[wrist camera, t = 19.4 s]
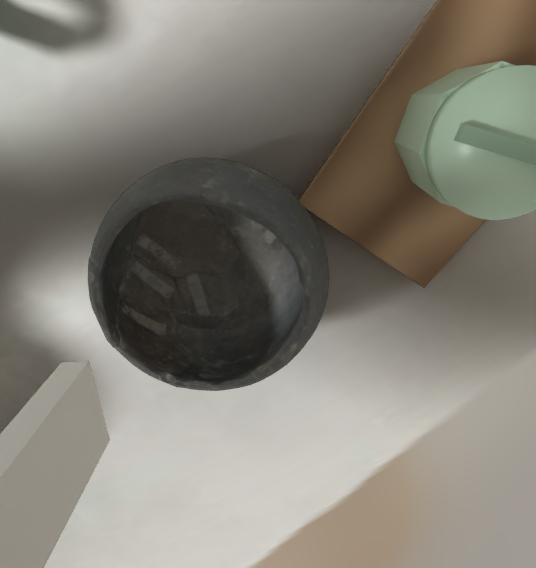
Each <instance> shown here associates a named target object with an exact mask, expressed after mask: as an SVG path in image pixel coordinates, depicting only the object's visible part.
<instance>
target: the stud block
mask: <svg viewBox="0 0 536 568" xmlns="http://www.w3.org/2000/svg"><path fill="white" fill-rule="evenodd" d="M499 61H504V62H507V63H510V64H513V65H516V66H520V65H532V66H536V0H437V1H436V3H435V4H434V6H433V7H432V9H431V10H430V12H429V13H428V14H427V16H426V17H425V19H424V20H423V22H422V23H421V25H420V26H419V27H418V29H417V30H416V32H415V33H414V35H413V36H412V37H411V39H410V40H409V42H408V43H407V45H406V46H405V48H404V49H403V50H402V52H401V53H400V55H399V56H398V58H397V59H396V61H395V62H394V63H393V65H392V66H391V68H390V69H389V71H388V72H387V74H386V75H385V76H384V78H383V79H382V81H381V82H380V84H379V85H378V87H377V88H376V89H375V91H374V92H373V94H372V95H371V97H370V98H369V100H368V101H367V102H366V104H365V105H364V107H363V108H362V110H361V111H360V113H359V114H358V115H357V117H356V118H355V120H354V121H353V123H352V124H351V126H350V127H349V128H348V130H347V131H346V133H345V134H344V136H343V137H342V139H341V140H340V141H339V143H338V144H337V146H336V147H335V149H334V150H333V152H332V153H331V154H330V156H329V157H328V159H327V160H326V162H325V163H324V165H323V166H322V167H321V169H320V170H319V172H318V173H317V175H316V176H315V178H314V179H313V180H312V182H311V183H310V185H309V186H308V188H307V189H306V191H305V192H304V193H303V195H302V196H301V198H300V203H301V204H302V205H303V206H304V208H306V209H307V210H309V211H310V212H312V213H313V214H315V215H316V216H318V217H319V218H321V219H322V220H324V221H325V222H327V223H328V224H330V225H331V226H333V227H334V228H336V229H337V230H339V231H340V232H341V233H343V234H344V235H346V236H347V237H349V238H350V239H352V240H353V241H355V242H356V243H358V244H359V245H361V246H362V247H364V248H365V249H367V250H368V251H370V252H371V253H373V254H374V255H376V256H377V257H379V258H380V259H382V260H383V261H385V262H386V263H387V264H389V265H390V266H392V267H393V268H395V269H396V270H398V271H399V272H401V273H402V274H404V275H405V276H407V277H408V278H410V279H411V280H413V281H414V282H416V283H417V284H419V285H420V286H422V287H423V288H425V286H426V285H427V284H428V283H429V282H430V281H431V280H432V279H433V277H434V276H435V275H436V274H437V273H438V272H439V271H440V270H441V269H442V267H443V266H444V265H445V264H446V263H447V262H448V261H449V260H450V258H451V257H452V256H453V255H454V254H455V253H456V252H457V251H458V249H459V248H460V247H461V246H462V245H463V244H464V243H465V242H466V240H467V239H468V238H469V237H470V236H471V235H472V234H473V233H474V231H475V230H476V229H477V228H478V227H479V226H480V225H481V224H482V222H483V221H484V220H485V219H481V218H476V217H473V216H471V215H468V214H466V213H464V212H462V211H461V210H459V209H458V208H456V207H453V206H449V205H446V204H442V203H440V202H438V201H437V200H436V199H434V198H433V197H432V196H430V195H429V194H428V193H426V192H425V191H424V190H422V189H421V188H420V187H418V186H417V185H416V184H414V183H413V182H412V181H411V179H410V177H409V174H408V172H407V170H406V168H405V165H404V163H403V161H402V158H401V156H400V154H399V152H398V149H397V147H396V145H395V143H394V140H395V138H396V135H397V132H398V130H399V127H400V124H401V122H402V119H403V116H404V114H405V111H406V109H407V106H408V103H409V101H410V98H411V95H412V94H414V93H415V92H417V91H419V90H421V89H422V88H424V87H426V86H428V85H430V84H431V83H433V82H435V81H437V80H438V79H440V78H442V77H444V76H446V75H447V74H449V73H451V72H453V71H454V70H456V69H460V68H465V67H471V66H477V65H482V64H488V63H494V62H499Z"/></svg>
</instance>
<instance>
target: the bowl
mask: <svg viewBox="0 0 536 568" xmlns="http://www.w3.org/2000/svg"><path fill="white" fill-rule="evenodd" d="M88 285H89V295H90V301H91V305H92V308H93V311H94V313H95V315H96V318H97V320H98V322H99V324H100V326H101V328H102V331H103V333H104V335H105V337H106V339H107V341H108V342H109V343H110V344H111V345H112V347H114V348H115V349H116V350H117V351H118V352H119V353H120V354H122V355H123V356H124V357H125V358H126V359H127V360H128V361H129V362H130V363H132V364H133V365H134V366H136V367H137V368H138V369H140V370H141V371H143V372H145V373H146V374H148V375H150V376H152V377H154V378H156V379H158V380H160V381H163V382H165V383H168V384H170V385H173V386H175V387H182V388H188V389H195V390H209V391H219V390H227V389H234V388H240V387H244V386H248V385H251V384H254V383H256V382H259V381H261V380H263V379H265V378H267V377H268V376H270V375H272V374H274V373H275V372H277V371H278V370H280V369H281V368H282V367H284V366H285V365H287V364H288V363H289V362H290V361H291V360H292V359H293V358H294V357H295V356H296V355H297V354H298V353H299V352H300V351H301V349H302V348H303V347H304V346H305V344H306V343H307V342H308V340H309V339H310V338H311V336H312V334H313V333H314V331H315V330H316V328H317V326H318V324H319V321H320V319H321V317H322V314H323V311H324V308H325V304H326V300H327V295H328V286H329V271H328V260H327V255H326V251H325V247H324V244H323V240H322V237H321V235H320V232H319V230H318V228H317V226H316V224H315V223H314V221H313V219H312V218H311V216H310V215H309V213H308V212H307V210H306V209H305V208H304V206H303V205H302V204H301V203H300V202H299V200H298V199H297V198H296V197H295V196H294V195H293V194H292V193H291V192H290V191H289V190H288V189H286V188H285V187H284V186H283V185H281V184H280V183H278V182H277V181H275V180H274V179H272V178H271V177H269V176H267V175H266V174H264V173H262V172H260V171H257V170H255V169H253V168H251V167H249V166H246V165H243V164H240V163H237V162H233V161H229V160H224V159H216V158H192V159H185V160H180V161H176V162H173V163H170V164H168V165H165V166H162V167H160V168H158V169H156V170H154V171H152V172H150V173H149V174H147V175H146V176H144V177H143V178H141V179H140V180H138V181H137V182H136V183H134V184H133V185H132V186H131V187H129V188H128V189H127V190H126V191H125V192H124V193H123V194H122V195H121V196H120V197H119V198H118V199H117V200H116V202H115V203H114V204H113V206H112V207H111V208H110V210H109V211H108V213H107V214H106V216H105V218H104V220H103V221H102V223H101V225H100V227H99V229H98V232H97V234H96V237H95V240H94V243H93V248H92V252H91V256H90V258H89V264H88Z"/></svg>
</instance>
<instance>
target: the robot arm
mask: <svg viewBox="0 0 536 568" xmlns="http://www.w3.org/2000/svg"><path fill="white" fill-rule="evenodd" d="M109 440H110V439H109V435H108V431H107V428H106V424H105V420H104V416H103V413H102V409H101V405H100V401H99V398H98V394H97V390H96V386H95V383H94V379H93V375H92V371H91V367H90V364H89V361H72V362H61V363H60V365H59V366H58V367H57V368H56V369H55V371H54V372H53V373H52V374H51V375H50V376H49V378H48V379H47V380H46V381H45V382H44V383H43V385H42V386H41V387H40V388H39V389H38V390H37V392H36V393H35V394H34V395H33V396H32V397H31V399H30V400H29V401H28V402H27V403H26V405H25V406H24V407H23V408H22V409H21V410H20V412H19V413H18V414H17V415H16V416H15V417H14V419H13V420H12V421H11V422H10V423H9V424H8V426H7V427H6V428H5V429H4V430H3V431H2V433H1V434H0V568H44V566H45V564H46V562H47V560H48V558H49V556H50V554H51V553H52V551H53V549H54V547H55V545H56V543H57V541H58V539H59V537H60V535H61V533H62V531H63V529H64V527H65V525H66V524H67V522H68V520H69V518H70V516H71V514H72V512H73V510H74V508H75V506H76V504H77V502H78V500H79V498H80V496H81V494H82V493H83V491H84V489H85V487H86V485H87V483H88V481H89V479H90V477H91V475H92V473H93V471H94V469H95V467H96V465H97V464H98V462H99V460H100V458H101V456H102V454H103V452H104V450H105V448H106V446H107V444H108V442H109Z"/></svg>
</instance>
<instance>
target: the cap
mask: <svg viewBox="0 0 536 568" xmlns="http://www.w3.org/2000/svg"><path fill="white" fill-rule="evenodd" d="M394 143H395V145H396V147H397V149H398V152H399V154H400V156H401V158H402V161H403V163H404V165H405V168H406V170H407V172H408V174H409V177H410V179H411V181H412V182H413V183H414V184H416V185H417V186H418V187H420V188H421V189H422V190H424V191H425V192H426V193H428V194H429V195H430V196H432V197H433V198H434V199H436V200H437V201H438V202H440V203H442V204H446V205H449V206H453V207H456V208H458V209H459V210H461V211H462V212H464V213H466V214H468V215H471V216H473V217H476V218H481V219H486V220H505V219H512V218H516V217H519V216H523V215H525V214H528V213H530V212H533V211H535V210H536V66H532V65H520V66H516V65H513V64H510V63H507V62H504V61H499V62H494V63H488V64H482V65H477V66H471V67H465V68H460V69H456V70H454V71H453V72H451V73H449V74H447V75H446V76H444V77H442V78H440V79H438V80H437V81H435V82H433V83H431V84H430V85H428V86H426V87H424V88H422V89H421V90H419V91H417V92H415V93H414V94H412V95H411V98H410V101H409V103H408V106H407V109H406V111H405V114H404V116H403V119H402V122H401V124H400V127H399V130H398V132H397V135H396V138H395V140H394Z"/></svg>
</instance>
